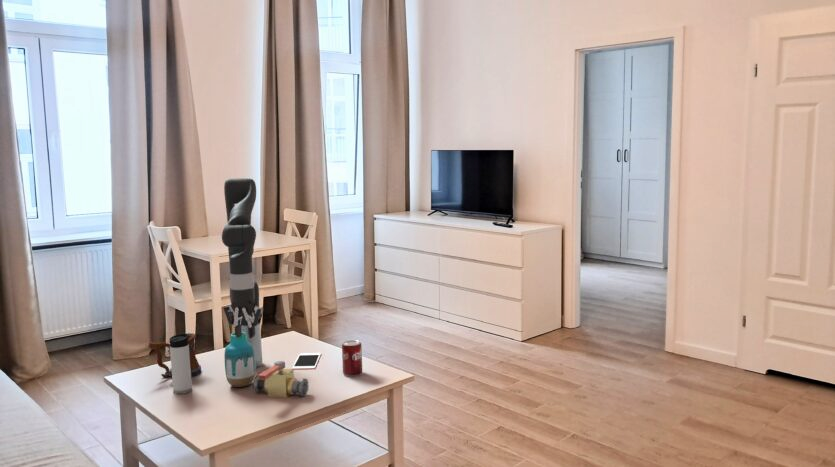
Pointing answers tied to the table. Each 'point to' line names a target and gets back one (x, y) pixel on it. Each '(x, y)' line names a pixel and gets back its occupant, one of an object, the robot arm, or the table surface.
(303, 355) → the cell phone
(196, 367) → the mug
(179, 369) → the travel mug
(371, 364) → the table surface
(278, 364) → the lever
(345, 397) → the table surface
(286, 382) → the valve pipe
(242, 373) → the vase
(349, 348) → the soda can
